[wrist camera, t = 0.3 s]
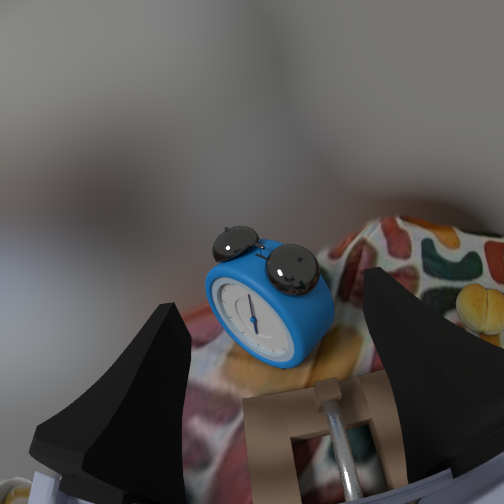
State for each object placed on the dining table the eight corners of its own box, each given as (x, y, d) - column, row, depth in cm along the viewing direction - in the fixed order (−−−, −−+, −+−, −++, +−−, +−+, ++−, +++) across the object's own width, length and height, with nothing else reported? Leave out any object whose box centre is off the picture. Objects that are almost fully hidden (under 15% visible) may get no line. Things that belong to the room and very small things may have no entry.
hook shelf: (436, 516, 14) (460, 510, 11) (263, 564, 14) (257, 572, 11) (387, 375, 28) (399, 350, 25) (244, 406, 28) (237, 385, 25)
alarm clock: (217, 334, 37) (186, 235, 28) (249, 306, 40) (231, 208, 32) (301, 388, 29) (302, 288, 20) (332, 350, 33) (343, 245, 24)
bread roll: (456, 288, 37) (464, 268, 35) (503, 304, 32) (513, 285, 30) (449, 326, 32) (459, 306, 30) (501, 344, 27) (514, 325, 25)
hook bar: (368, 528, 13) (372, 528, 13) (351, 533, 13) (354, 534, 13) (333, 394, 25) (335, 388, 24) (319, 397, 25) (320, 391, 24)
